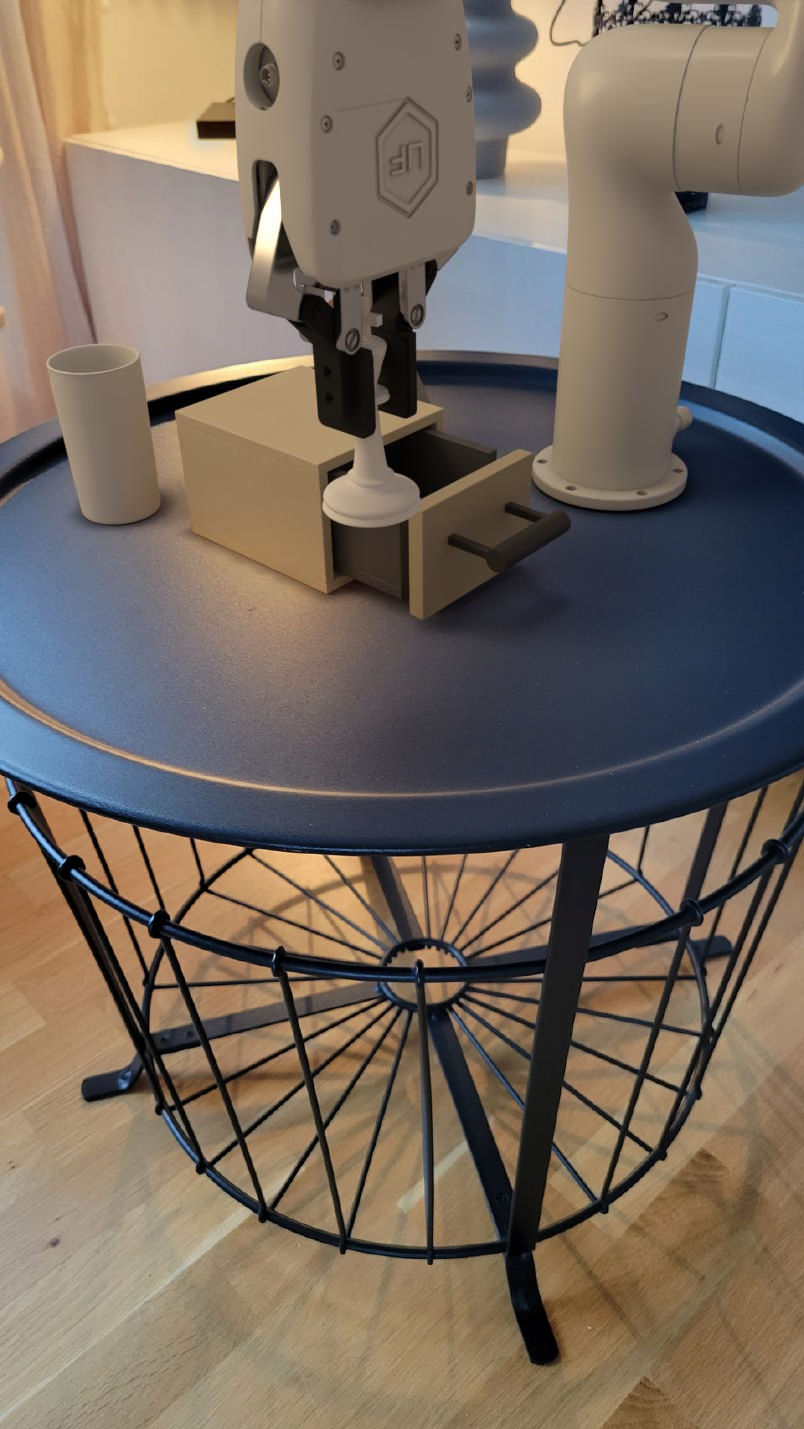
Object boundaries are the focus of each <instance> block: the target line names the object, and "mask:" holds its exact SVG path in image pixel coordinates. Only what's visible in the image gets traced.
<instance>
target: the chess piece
mask: <svg viewBox="0 0 804 1429" xmlns="http://www.w3.org/2000/svg"><path fill="white" fill-rule="evenodd" d="M361 303H362V335H363V338H362V344H361V347H363V348H366V349H370V350H372V354H373V361H374V386H375V411H376V429H375V433H374V434H373V435H371V436H369V437H367V438H365V439H361V438H358V437H356V443H355V456H354V465H353V468H352V469H351V470H350V471H349V472H348V473H347V475H344V476H342V477H339V478H337V479H336V480H334V481H333V482H331V483H330V484H329V485H328V486H327V487H326V489H325V491H324V494H323V498H324V501H323V511H324V512H325V514H326V515H327V516H328V517H329V518H331V519H332V520H334V521H336V522H338V523H341V524H344V525H348V526H354V527H363V528H374V527H384V526H390V525H394V524H397V523H400V522H403V521H405V520H407V519H409V518H411V517H412V516H414V515H415V514H416V513H417V512H418V511H419V509H420V507H421V499H420V497H419V495H420V492H419V488H418V486H417V485H416V483H415V482H413V481H412V480H411V479H409V478H408V477H406V476H403V475H401V474H398V473H394V471H393V470H392V469H391V468H389V467H387V462H386V458H385V452H384V446H383V440H382V434H381V428H380V420H379V413H378V405H379V404H382V403H384V402H386V401H387V400H389V398H390V394H389V393H388V389H387V388H386V387H384V386H381V385H379V384H378V383H377V381H378V378H379V375H380V371H381V366H382V362H383V359H384V356H385V353H386V349H387V343H386V341H385V340H384V339H382V338H380V337H378V336H374V335H371V326H374V327H378V326H380V325H382V314H377V313H371V312H370V298H368V297H362V296H361Z"/></svg>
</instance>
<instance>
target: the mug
mask: <svg viewBox="0 0 804 1429" xmlns="http://www.w3.org/2000/svg"><path fill="white" fill-rule="evenodd" d="M141 362H142V361H141V353H140V352H139V350H137V349H136V348H134V347H133V346H129V345H125V344H119V343H91V344H84V345H78V346H73V347H69V348H66V349H63V350H60V351H58V352H55V353H53V354H52V355H51V356H49V357H48V358H47V360H46V362H45V365H46V369H47V374H48V378H49V384H50V388H51V393H52V397H53V401H54V405H55V409H56V414H57V417H58V421H59V425H60V429H61V434H62V439H63V442H64V445H65V450H66V455H67V459H68V463H69V467H70V469H71V475H72V478H73V483H74V487H75V491H76V493H77V498H78V502H79V507H80V510H81V513H82V515H83V516H84V518H85V519H87V520H88V521H90V522H93V523H95V524H96V523H97V524H100V525H125V524H130V523H135V522H139V521H141V520H145V519H146V518H149V517H151V516H152V515H153V514H155V513H156V512H157V511H158V510H159V508H160V507H161V502H162V500H161V494H160V493H161V492H160V487H159V476H158V469H157V462H156V456H155V455H156V454H155V450H154V449H155V448H154V442H153V436H152V428H151V420H150V414H149V407H148V400H147V394H146V393H147V392H146V385H145V378H144V372H143V367H142V363H141Z"/></svg>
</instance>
